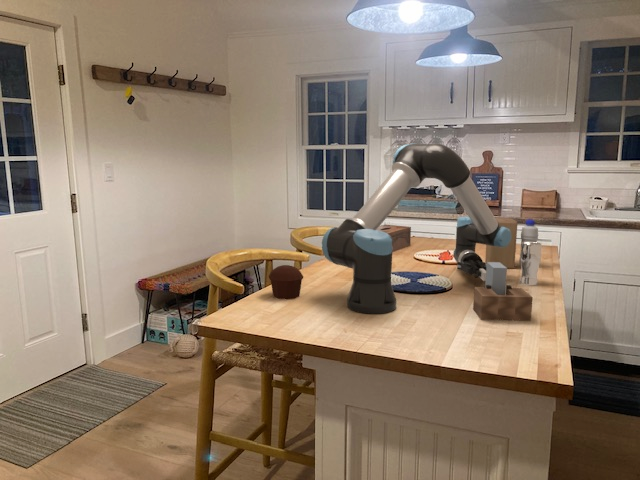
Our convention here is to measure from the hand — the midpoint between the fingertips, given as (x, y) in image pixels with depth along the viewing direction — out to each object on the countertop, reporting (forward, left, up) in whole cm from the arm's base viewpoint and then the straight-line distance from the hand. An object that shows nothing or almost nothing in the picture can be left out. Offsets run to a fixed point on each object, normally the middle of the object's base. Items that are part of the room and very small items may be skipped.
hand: (485, 277), depth 173 cm
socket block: (0, -20, -6) cm, 21 cm away
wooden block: (+17, +46, -7) cm, 49 cm away
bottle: (+28, +45, -7) cm, 53 cm away
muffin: (-66, -5, -7) cm, 67 cm away
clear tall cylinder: (+20, +18, -7) cm, 28 cm away
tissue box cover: (-28, +82, -7) cm, 87 cm away
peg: (0, -12, -6) cm, 14 cm away
